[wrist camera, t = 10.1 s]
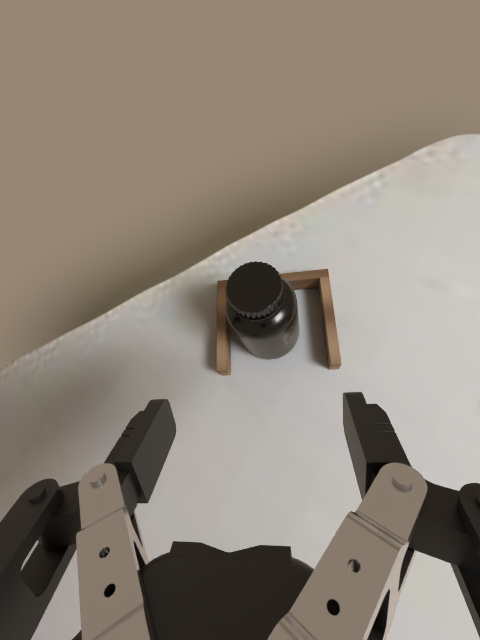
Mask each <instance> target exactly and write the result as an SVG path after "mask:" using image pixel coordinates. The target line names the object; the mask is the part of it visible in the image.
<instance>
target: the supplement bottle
mask: <svg viewBox="0 0 480 640" xmlns="http://www.w3.org/2000/svg"><path fill="white" fill-rule="evenodd" d="M226 294H227V298H226V302H225V313H226V317H227V320H228V322H229V324H230V326H231V327H232V329H233V330H234V331H235V333H236V334H237V336H238V337H239V339H240V340H241V342H242V343H243V344H244V346H245V347H246V348H247V350H248V351H249V352H251V353H252V354H253V355H255V356H257V357H259V358H263V359H276V358H279V357H282V356H284V355H286V354H287V353H288V352H290V351H291V350H292V348H293V347H294V346H295V344H296V342H297V340H298V336H299V320H298V307H297V299H296V295H295V292H294V290H293V288H292V286H291V285H290V284H289V283H288V282H287V281H286V280H285V279H284V278H282V277H281V276H280V275H279V272H278V271H276V269H275V268H274V267H272V266H271V265H268V264H267V263H262V262H249V263H246V264H244V265H242V266H240V267H239V268H237V269H236V270H235V271H234V272H233V273H232V274H231V276H230V277H229V280H228V281H227V285H226Z"/></svg>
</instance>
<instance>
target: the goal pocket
mask: <svg viewBox="0 0 480 640" xmlns="http://www.w3.org/2000/svg"><path fill="white" fill-rule="evenodd" d="M279 275H280V276H281V277H282V278H284V279H285V280H286V281H287V282H288V283H289V284H290V285H291V286H292V288H293V290H299V289H309V288H319V293H320V301H321V309H322V317H323V325H324V333H325V341H326V349H327V357H328V365H329V369H339V367H340V365H341V358H340V351H339V344H338V337H337V330H336V323H335V316H334V309H333V301H332V294H331V287H330V280H329V273H328V269H322V270H313V271H304V272H295V273H286V274H279ZM227 281H228V280H223V281H218V286H217V372H218V373H220V374H221V375H231V350H230V324H229V322H228V320H227V317H226V313H225V302H226V298H227V294H226V285H227Z"/></svg>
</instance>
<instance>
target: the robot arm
mask: <svg viewBox="0 0 480 640" xmlns="http://www.w3.org/2000/svg"><path fill="white" fill-rule="evenodd" d="M343 425H344V432H345V437H346V440H347V444H348V448H349V452H350V456H351V459H352V463H353V467H354V471H355V475H356V478H357V482H358V486H359V490H360V494H361V497H362V502H361V504H360V506H359V507H358V509H357V511H356V512H355V513H354V512H352V511H351V512H349V513H348V514H347V516H346V517H345V519H344V520H343V522H342V524H341V526H340V527H339V529H338V531H337V532H336V534H335V536H334V537H333V539H332V541H331V542H330V544H329V546H328V547H327V549H326V551H325V552H324V554H323V556H322V557H321V559H320V561H319V563H318V564H317V566H316V568H315V569H313V568H311V567H310V566H309V565H307V564H306V563H304V562H302V561H300V560H298V559H295V558H293V557H292V555H291V547H290V546H267V545H259V546H255V547H251V548H247V549H243V550H239V551H235V552H230V553H229V552H224V551H222V550H219V549H216V548H214V547H211V546H208V545H206V544H203V543H199V542H176V541H173V543H172V547H171V550H170V552H169V553H166V554H163V555H161V556H159V557H157V558H155V559H153V560H152V561H150V562H149V560H148V557H147V554H146V551H145V547H144V543H143V539H142V536H141V532H140V528H139V524H138V521H137V517H136V513H135V511H134V510H135V508H136V506H137V503H148V502H149V499H150V497H151V494H152V492H153V490H154V487H155V485H156V482H157V480H158V477H159V475H160V472H161V470H162V468H163V465H164V463H165V460H166V458H167V455H168V453H169V450H170V448H171V445H172V443H173V441H174V438H175V435H176V424H175V420H174V417H173V413H172V410H171V407H170V403H169V401H168V400H167V399H158V400H151V401H150V402H149V403H148V405H147V407H146V408H145V410H144V411H140V412H139V413H138V414H136V415H135V416H134V417H133V418H132V419H131V420H130V422H129V424H128V425H127V427H126V430H124V432H123V433H122V435H121V437H120V438H119V440H118V441H117V443H116V444H115V446H114V448H113V449H112V451H111V453H110V454H109V456H108V457H107V459H106V461H105V462H104V464H100V465H98V466H95V467H94V468H92V469H91V470H89V471H88V472H87V473H86V474H85V475H84V476H83V477H82V479H81V480H80V481H79V482H76V483H72V484H69V485H65V486H62V487H60V486H59V485H58V483H57V481H56V480H54V479H45V480H42V481H39V482H37V483H35V484H34V485H32V486H31V487H29V488H28V489H27V490H26V491H25V492H24V493H23V494H22V495H21V496H20V497H19V499H18V500H17V501H16V503H15V504H14V505H13V506H12V508H11V509H10V510H9V512H8V513H7V514H6V516H5V517H4V518H3V520H2V521H1V522H0V640H31V638H32V636H33V634H34V632H35V630H36V628H37V626H38V624H39V622H40V620H41V618H42V616H43V614H44V612H45V610H46V608H47V606H48V604H49V602H50V600H51V598H52V596H53V594H54V592H55V590H56V588H57V586H58V584H59V582H60V580H61V578H62V576H63V574H64V572H65V570H66V568H67V566H68V564H69V563H70V561H71V559H72V557H73V555H74V553H75V551H76V549H77V561H78V579H79V596H80V613H81V631H80V632H79V633H78V634H77V635H76V636H75V637H74V638H73V639H72V640H386V638H387V635H388V633H389V630H390V627H391V624H392V621H393V618H394V614H395V610H396V606H397V603H398V600H399V597H400V594H401V591H402V589H403V586H404V583H405V581H406V578H407V575H408V573H409V570H410V567H411V565H412V562H413V559H414V557H415V554H416V551H419V552H421V553H424V554H427V555H430V556H432V557H435V558H438V559H441V560H443V561H446V562H449V563H451V566H452V568H453V571H454V573H455V576H456V578H457V581H458V584H459V586H460V589H461V591H462V594H463V596H464V599H465V601H466V604H467V606H468V609H469V611H470V614H471V616H472V619H473V622H474V624H475V627H476V629H477V632H478V634H479V637H480V484H479V483H470V484H466V485H464V486H463V487H462V488H461V489H460V491H457V490H453V489H449V488H446V487H442V486H439V485H435V484H433V483H431V482H429V481H427V480H425V479H424V478H423V476H422V475H421V474H420V473H419V472H418V471H416V470H415V469H414V468H412V467H411V465H410V463H409V461H408V459H407V456H406V454H405V452H404V450H403V448H402V446H401V444H400V441H399V439H398V437H397V435H396V433H395V431H394V429H393V426H392V424H391V422H390V420H389V418H388V416H387V414H386V412H385V411H384V410H383V409H382V408H381V407H379V406H378V405H377V404H367V403H366V401H365V398H364V396H363V394H362V392H348V393H343ZM37 540H38V541H39V543H38V545H37V546H36V548H35V550H34V551H33V553H32V554H31V556H30V558H29V559H28V561H27V563H26V564H25V566H24V567H23V569H22V571H21V567H22V564H23V562H24V560H25V558H26V557H27V555H28V554H29V552H30V550H31V549H32V547H33V546H34V544H35V542H36V541H37Z"/></svg>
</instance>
